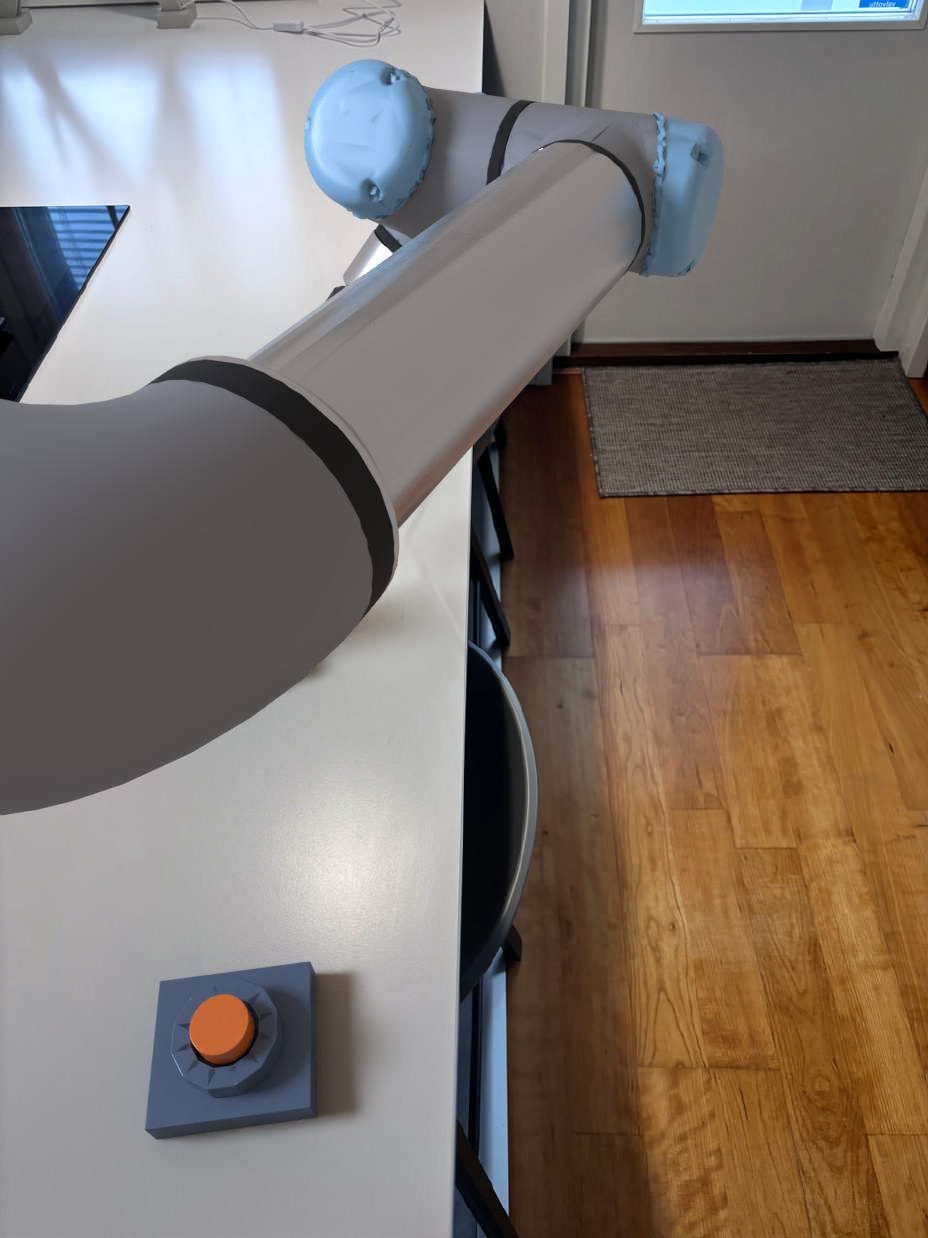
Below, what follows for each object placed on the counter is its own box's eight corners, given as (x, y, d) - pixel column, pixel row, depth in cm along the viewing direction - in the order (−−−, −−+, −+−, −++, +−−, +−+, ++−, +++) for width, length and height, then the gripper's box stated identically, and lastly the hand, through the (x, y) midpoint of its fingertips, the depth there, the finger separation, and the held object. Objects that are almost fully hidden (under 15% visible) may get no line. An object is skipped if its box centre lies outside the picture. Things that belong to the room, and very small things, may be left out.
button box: (155, 1139, 58) (134, 1122, 55) (169, 993, 64) (151, 970, 61) (317, 1117, 59) (305, 1099, 56) (316, 973, 65) (305, 950, 62)
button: (194, 1068, 58) (186, 1059, 56) (199, 1008, 60) (191, 998, 59) (254, 1060, 58) (247, 1051, 56) (256, 1000, 60) (249, 990, 59)
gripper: (483, 432, 62) (305, 650, 71) (370, 263, 78) (235, 456, 86) (398, 385, 57) (217, 625, 66) (295, 214, 73) (160, 425, 81)
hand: (227, 530), depth 76 cm, fingers open, 13 cm apart
